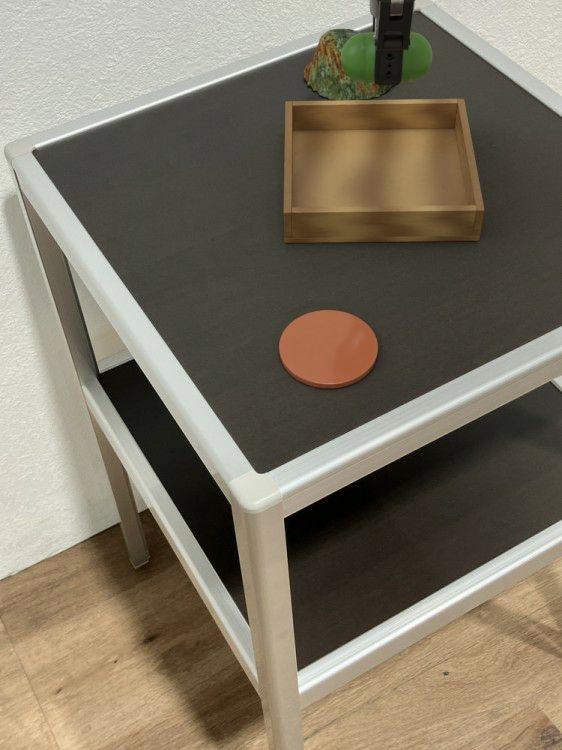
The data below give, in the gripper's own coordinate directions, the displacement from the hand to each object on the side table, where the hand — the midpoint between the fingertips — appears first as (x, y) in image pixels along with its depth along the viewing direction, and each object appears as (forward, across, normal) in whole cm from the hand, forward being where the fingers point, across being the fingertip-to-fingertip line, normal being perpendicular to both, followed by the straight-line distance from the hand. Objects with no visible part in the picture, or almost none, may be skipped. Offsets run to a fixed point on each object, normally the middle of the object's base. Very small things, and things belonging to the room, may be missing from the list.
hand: (385, 66), depth 81 cm
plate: (+13, -20, +5) cm, 25 cm away
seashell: (+13, +19, +2) cm, 23 cm away
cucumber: (+1, 0, 0) cm, 1 cm away
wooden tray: (+13, +1, 0) cm, 13 cm away
